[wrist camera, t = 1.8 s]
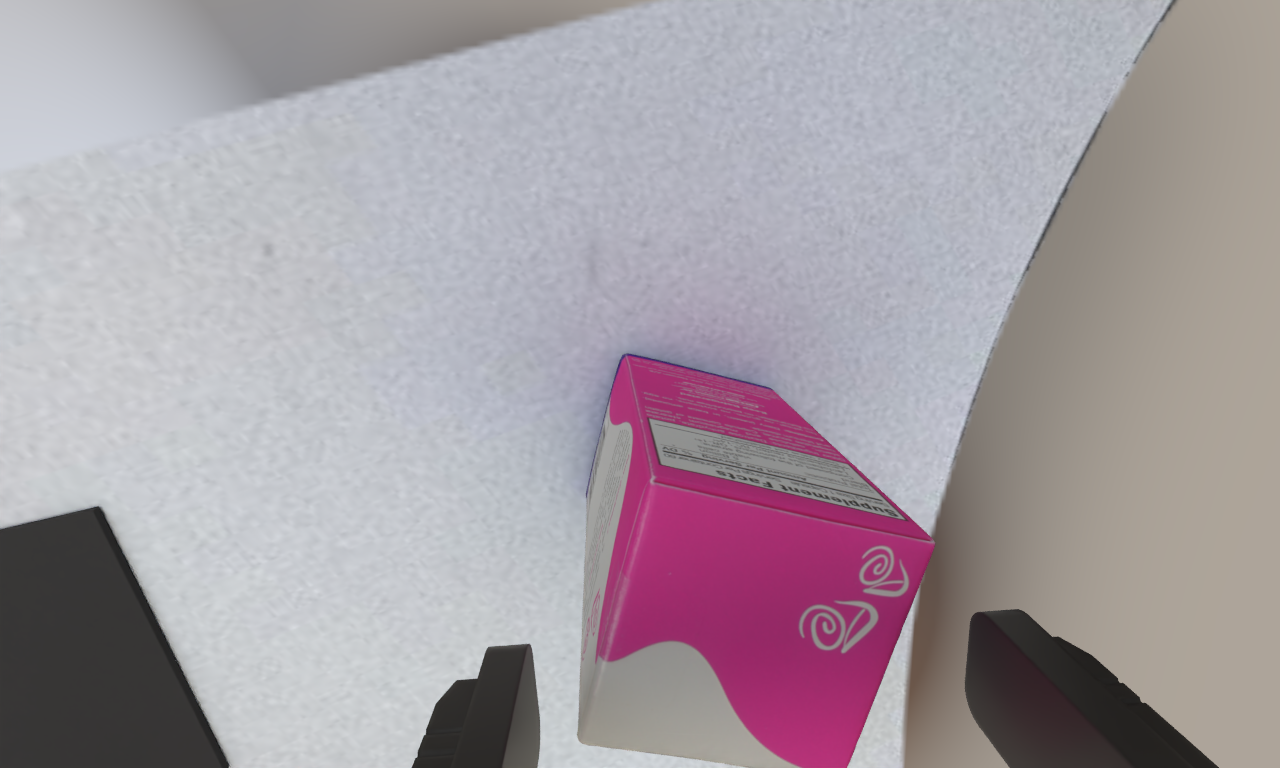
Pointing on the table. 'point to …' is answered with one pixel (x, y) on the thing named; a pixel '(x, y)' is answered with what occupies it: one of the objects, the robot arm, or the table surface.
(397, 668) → the table surface
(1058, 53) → the table surface
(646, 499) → the supplement box
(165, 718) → the felt pad
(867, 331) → the table surface
